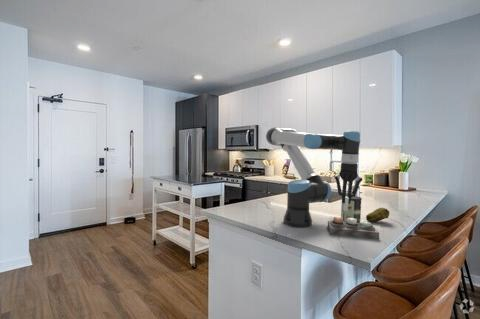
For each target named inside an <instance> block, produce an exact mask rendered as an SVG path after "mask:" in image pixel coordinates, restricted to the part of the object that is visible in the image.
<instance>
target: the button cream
mask: <svg viewBox="0 0 480 319" xmlns="http://www.w3.org/2000/svg"><path fill="white" fill-rule="evenodd" d="M347 223H349V224H357V219H355V218H347Z"/></svg>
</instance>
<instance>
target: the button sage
mask: <svg viewBox="0 0 480 319" xmlns="http://www.w3.org/2000/svg"><path fill="white" fill-rule="evenodd" d="M361 223H362V224H361V226H364V227H371V224H372V222H369V221H361Z"/></svg>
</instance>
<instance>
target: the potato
mask: <svg viewBox="0 0 480 319" xmlns="http://www.w3.org/2000/svg"><path fill="white" fill-rule="evenodd" d="M389 216H390V210H388V208H386V207H378V208H377V209H375V210H373V211H371V212H369V213H368V214H366V216H365V220H366V222H369V223H373V222H375V223H376V222H380V221H382V220H385V219H389Z"/></svg>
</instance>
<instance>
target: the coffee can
mask: <svg viewBox="0 0 480 319" xmlns="http://www.w3.org/2000/svg"><path fill="white" fill-rule="evenodd" d="M346 196H347V197H348V194H347V195H346ZM362 200H363V199H362V197H361V196H356V195H355V197H351V202H350V204H348V211H345V210H344V209H343V205H344V203H342V202H341V210H340V211H341V212H340V213H341V214H340V217H341V218H343V219H342V221H343V222H347V218H355V219H357V223H361V219H362V218H361V215H362V214H361V213H362Z"/></svg>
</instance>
